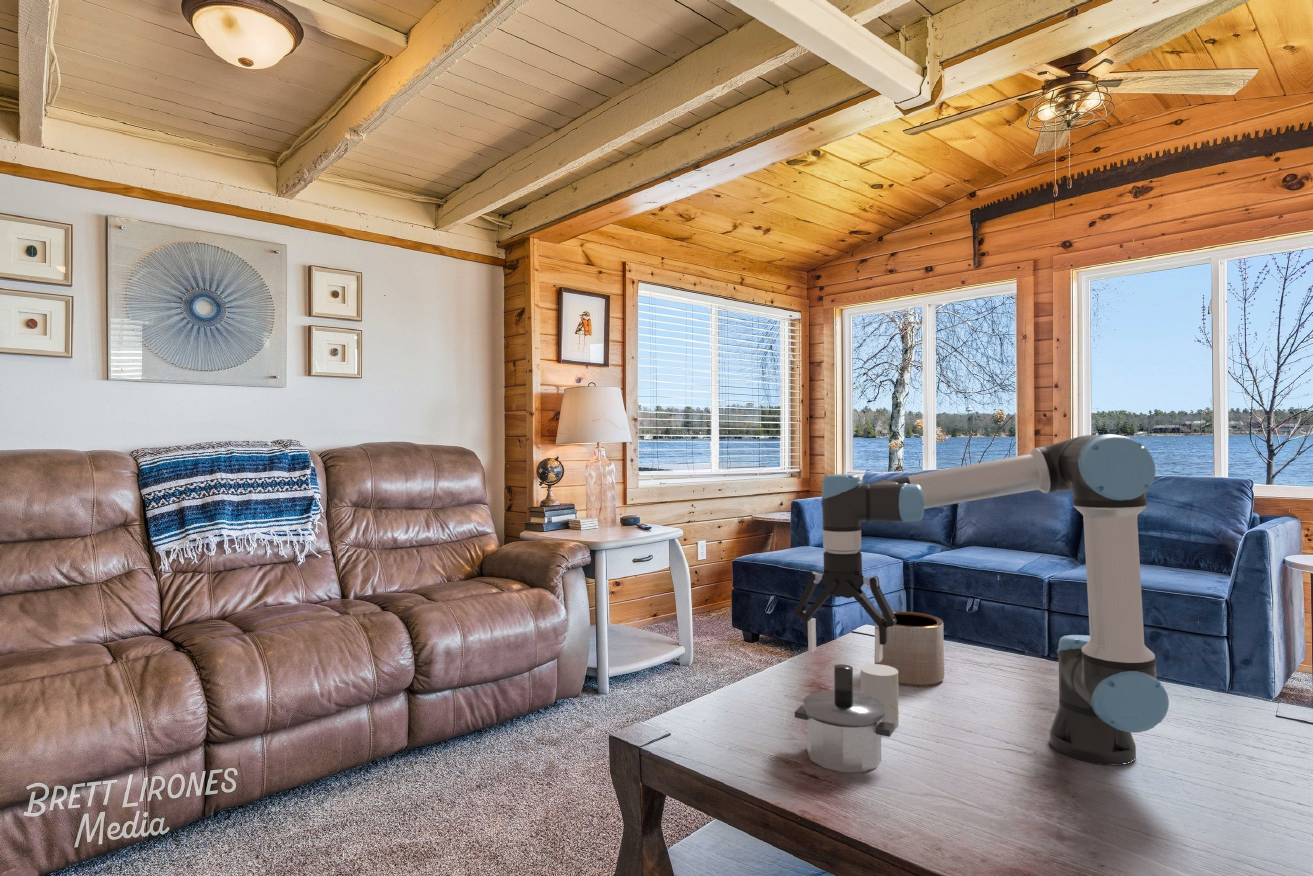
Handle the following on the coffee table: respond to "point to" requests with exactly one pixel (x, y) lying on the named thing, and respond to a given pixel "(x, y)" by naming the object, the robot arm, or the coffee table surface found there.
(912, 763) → the coffee table surface
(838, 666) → the lid
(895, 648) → the planter
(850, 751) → the pot
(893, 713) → the beige cylinder
